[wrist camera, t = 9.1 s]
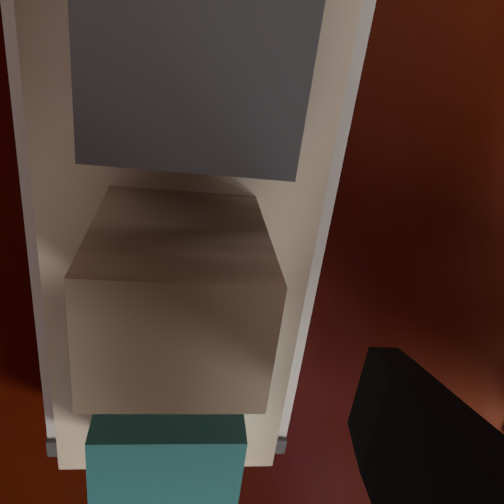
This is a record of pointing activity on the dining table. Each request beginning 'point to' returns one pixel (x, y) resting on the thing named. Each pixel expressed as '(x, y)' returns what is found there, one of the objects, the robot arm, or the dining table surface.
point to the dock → (30, 229)
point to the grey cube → (193, 84)
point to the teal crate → (165, 458)
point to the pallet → (85, 196)
